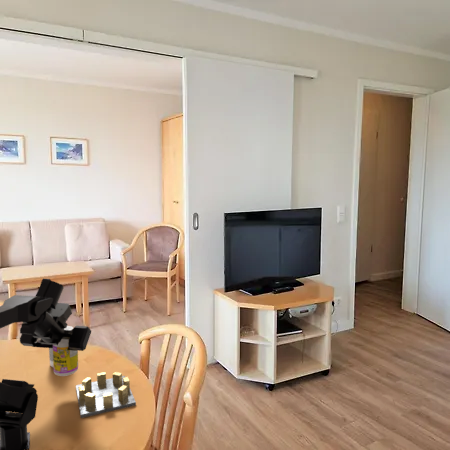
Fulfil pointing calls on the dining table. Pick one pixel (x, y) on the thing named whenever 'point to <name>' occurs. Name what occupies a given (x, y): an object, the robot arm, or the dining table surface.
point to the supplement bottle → (64, 358)
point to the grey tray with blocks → (104, 394)
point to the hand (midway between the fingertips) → (68, 347)
